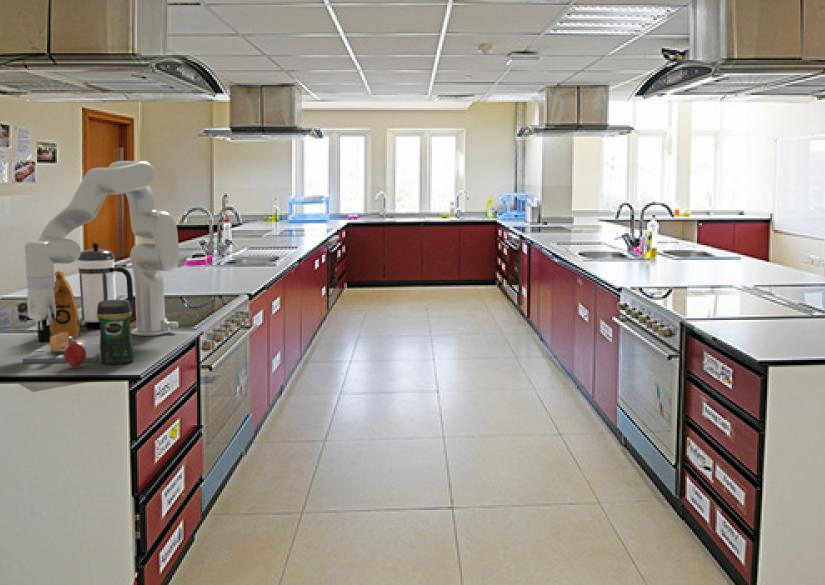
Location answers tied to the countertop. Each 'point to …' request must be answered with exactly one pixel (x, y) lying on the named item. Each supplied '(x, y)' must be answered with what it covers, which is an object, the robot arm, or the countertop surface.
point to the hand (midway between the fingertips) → (44, 342)
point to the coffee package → (64, 308)
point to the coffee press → (98, 281)
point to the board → (47, 356)
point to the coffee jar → (115, 332)
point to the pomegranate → (75, 354)
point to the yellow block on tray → (63, 342)
